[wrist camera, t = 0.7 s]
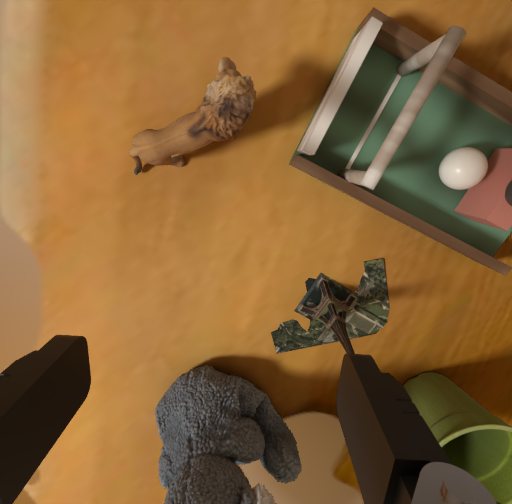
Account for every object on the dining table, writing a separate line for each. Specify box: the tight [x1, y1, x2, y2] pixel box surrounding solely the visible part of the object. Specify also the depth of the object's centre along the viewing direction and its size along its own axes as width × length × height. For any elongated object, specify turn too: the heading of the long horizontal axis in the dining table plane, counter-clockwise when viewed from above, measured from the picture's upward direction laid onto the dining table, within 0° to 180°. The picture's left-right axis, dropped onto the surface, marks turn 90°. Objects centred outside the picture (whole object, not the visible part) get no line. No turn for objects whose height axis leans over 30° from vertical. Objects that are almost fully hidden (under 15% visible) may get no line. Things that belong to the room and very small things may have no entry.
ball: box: [439, 147, 488, 190], centre depth 31 cm, size 4×4×4 cm
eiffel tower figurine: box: [271, 259, 390, 354], centre depth 33 cm, size 15×10×13 cm
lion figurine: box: [129, 57, 256, 175], centre depth 29 cm, size 15×5×9 cm, turn 122°
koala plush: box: [155, 365, 301, 504], centre depth 34 cm, size 17×18×20 cm
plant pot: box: [404, 372, 512, 504], centre depth 37 cm, size 12×12×11 cm
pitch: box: [289, 7, 512, 276], centre depth 29 cm, size 14×25×10 cm, turn 64°
